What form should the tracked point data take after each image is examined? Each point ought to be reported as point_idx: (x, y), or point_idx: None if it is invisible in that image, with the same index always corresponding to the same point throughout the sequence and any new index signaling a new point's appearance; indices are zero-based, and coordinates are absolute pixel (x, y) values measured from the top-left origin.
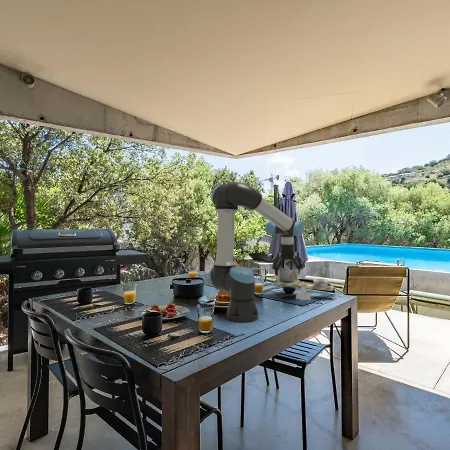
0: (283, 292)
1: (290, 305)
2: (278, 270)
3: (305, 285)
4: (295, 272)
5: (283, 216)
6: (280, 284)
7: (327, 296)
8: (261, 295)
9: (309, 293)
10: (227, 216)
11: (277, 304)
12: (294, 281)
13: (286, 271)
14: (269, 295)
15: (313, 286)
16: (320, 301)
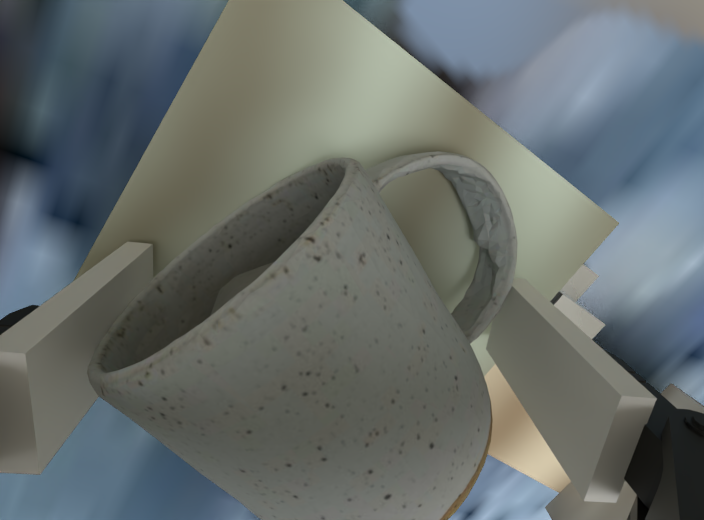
0: (384, 14)
1: (197, 498)
2: (11, 462)
3: (502, 440)
4: (565, 353)
5: None
6: None
7: (688, 360)
8: (27, 57)
9: (578, 281)
10: None
11: (96, 446)
12: (452, 305)
13: (245, 504)
14: (135, 99)
15: (549, 511)
16: (503, 472)
